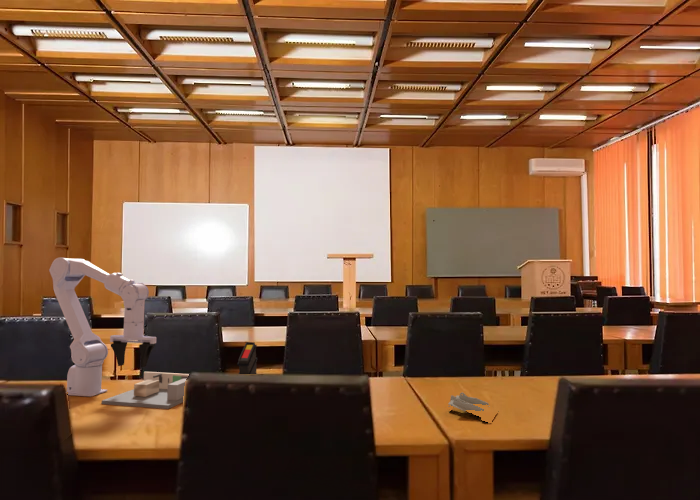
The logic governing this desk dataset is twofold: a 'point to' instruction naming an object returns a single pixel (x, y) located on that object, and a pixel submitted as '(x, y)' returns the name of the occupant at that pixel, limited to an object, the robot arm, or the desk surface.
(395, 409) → the desk surface
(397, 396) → the desk surface
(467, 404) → the grey angular piece
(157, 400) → the gauge board
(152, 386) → the block
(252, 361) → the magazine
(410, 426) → the desk surface
